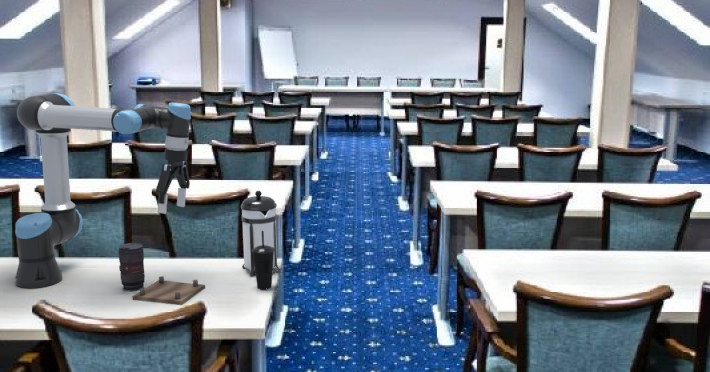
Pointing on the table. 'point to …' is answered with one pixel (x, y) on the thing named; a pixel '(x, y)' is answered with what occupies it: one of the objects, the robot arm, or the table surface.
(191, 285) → the board
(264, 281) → the drinking cup
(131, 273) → the camera lens
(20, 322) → the table surface
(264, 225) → the coffee press
